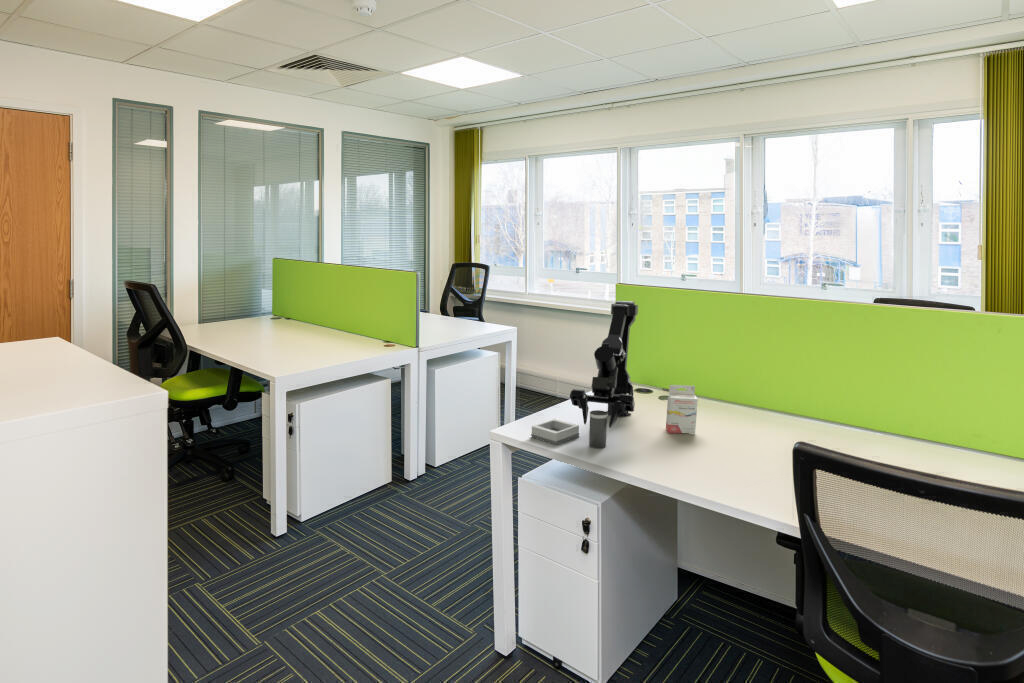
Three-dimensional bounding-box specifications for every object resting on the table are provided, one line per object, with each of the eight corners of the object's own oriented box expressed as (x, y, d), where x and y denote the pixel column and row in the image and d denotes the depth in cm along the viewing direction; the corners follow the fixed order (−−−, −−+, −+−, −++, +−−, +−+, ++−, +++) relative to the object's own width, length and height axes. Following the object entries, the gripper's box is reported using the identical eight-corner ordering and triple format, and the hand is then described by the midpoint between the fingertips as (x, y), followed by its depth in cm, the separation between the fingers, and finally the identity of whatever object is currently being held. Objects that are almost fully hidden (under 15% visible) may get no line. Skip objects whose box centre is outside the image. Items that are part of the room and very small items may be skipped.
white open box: (554, 429, 196) (554, 418, 196) (579, 436, 190) (579, 425, 189) (531, 437, 189) (531, 426, 188) (556, 444, 182) (556, 433, 181)
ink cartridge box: (667, 433, 193) (670, 388, 191) (665, 428, 198) (668, 384, 195) (695, 434, 192) (698, 389, 190) (692, 429, 197) (695, 385, 195)
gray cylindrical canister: (599, 441, 185) (600, 409, 183) (609, 446, 181) (611, 414, 179) (585, 444, 183) (586, 411, 181) (595, 449, 178) (596, 416, 176)
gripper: (572, 363, 184) (561, 408, 176) (634, 368, 178) (626, 415, 170) (577, 382, 193) (567, 426, 185) (637, 388, 187) (630, 434, 178)
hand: (597, 425), depth 179 cm, fingers open, 7 cm apart
